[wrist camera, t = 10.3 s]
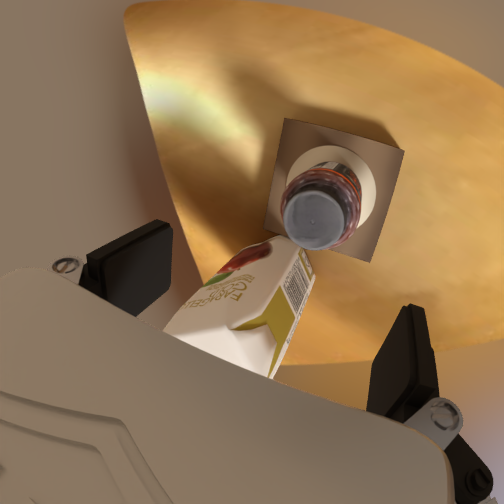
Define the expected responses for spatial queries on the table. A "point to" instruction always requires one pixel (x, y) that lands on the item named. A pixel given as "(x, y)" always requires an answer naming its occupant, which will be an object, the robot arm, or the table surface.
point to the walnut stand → (345, 152)
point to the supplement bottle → (322, 206)
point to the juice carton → (249, 306)
